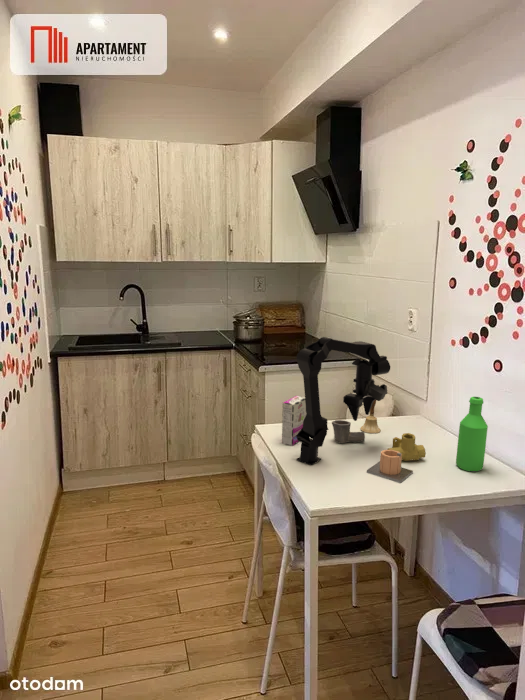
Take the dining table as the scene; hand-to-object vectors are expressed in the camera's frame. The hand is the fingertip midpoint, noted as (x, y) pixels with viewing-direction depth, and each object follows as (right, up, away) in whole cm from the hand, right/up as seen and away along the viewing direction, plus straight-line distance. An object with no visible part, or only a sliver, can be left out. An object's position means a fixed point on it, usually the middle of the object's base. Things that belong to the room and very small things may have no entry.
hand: (361, 417), depth 190 cm
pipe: (-4, -11, +9) cm, 14 cm away
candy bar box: (-25, -10, +9) cm, 28 cm away
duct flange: (+6, -16, -18) cm, 25 cm away
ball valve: (+14, -14, -5) cm, 21 cm away
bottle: (+35, -16, -12) cm, 40 cm away
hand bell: (+8, -8, +22) cm, 25 cm away
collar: (+6, -15, -18) cm, 25 cm away
